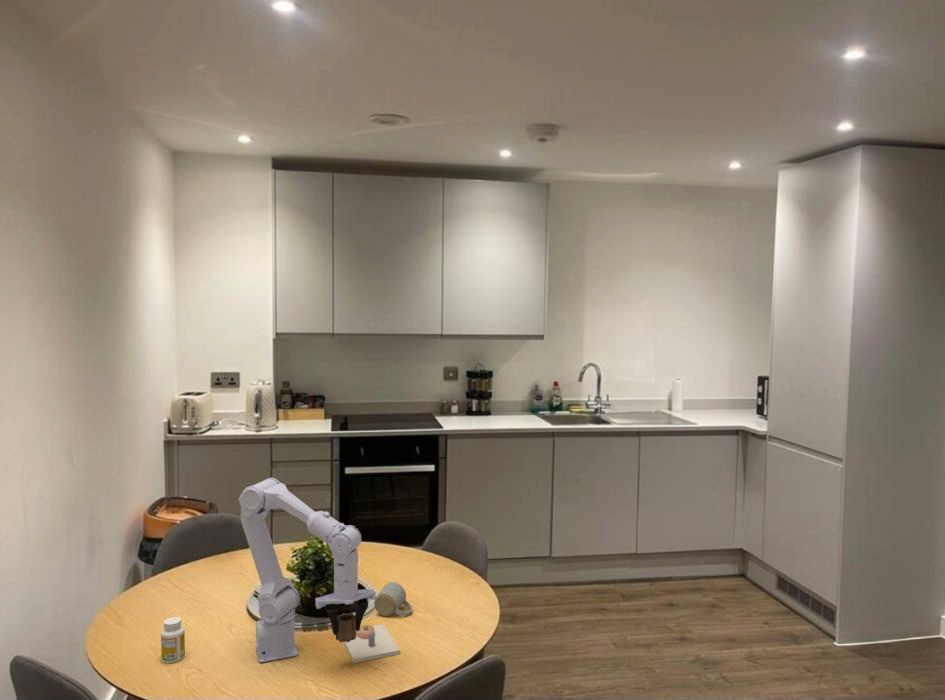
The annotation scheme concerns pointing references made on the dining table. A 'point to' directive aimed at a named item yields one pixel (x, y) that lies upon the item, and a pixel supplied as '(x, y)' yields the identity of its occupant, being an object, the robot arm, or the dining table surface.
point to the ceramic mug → (391, 600)
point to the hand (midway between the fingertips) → (346, 631)
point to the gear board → (375, 651)
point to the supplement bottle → (172, 640)
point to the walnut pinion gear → (346, 627)
